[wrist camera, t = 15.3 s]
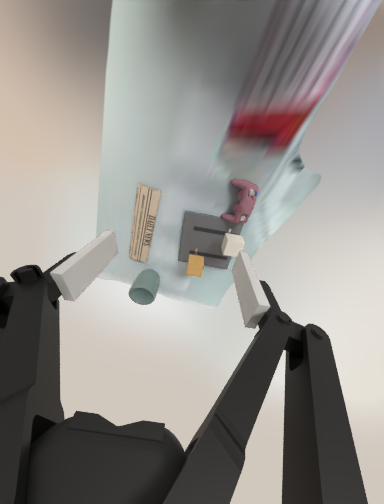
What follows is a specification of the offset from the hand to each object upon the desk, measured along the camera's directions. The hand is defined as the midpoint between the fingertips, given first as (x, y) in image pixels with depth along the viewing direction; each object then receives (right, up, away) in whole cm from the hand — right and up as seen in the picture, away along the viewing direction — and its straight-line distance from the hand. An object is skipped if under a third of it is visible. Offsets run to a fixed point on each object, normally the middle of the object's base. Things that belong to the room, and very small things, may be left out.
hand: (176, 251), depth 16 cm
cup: (-13, -8, +37) cm, 40 cm away
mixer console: (+7, +3, +28) cm, 29 cm away
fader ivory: (+12, +5, +25) cm, 28 cm away
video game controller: (+13, +13, +22) cm, 29 cm away
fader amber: (+3, 0, +29) cm, 29 cm away
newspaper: (-12, +7, +28) cm, 31 cm away
